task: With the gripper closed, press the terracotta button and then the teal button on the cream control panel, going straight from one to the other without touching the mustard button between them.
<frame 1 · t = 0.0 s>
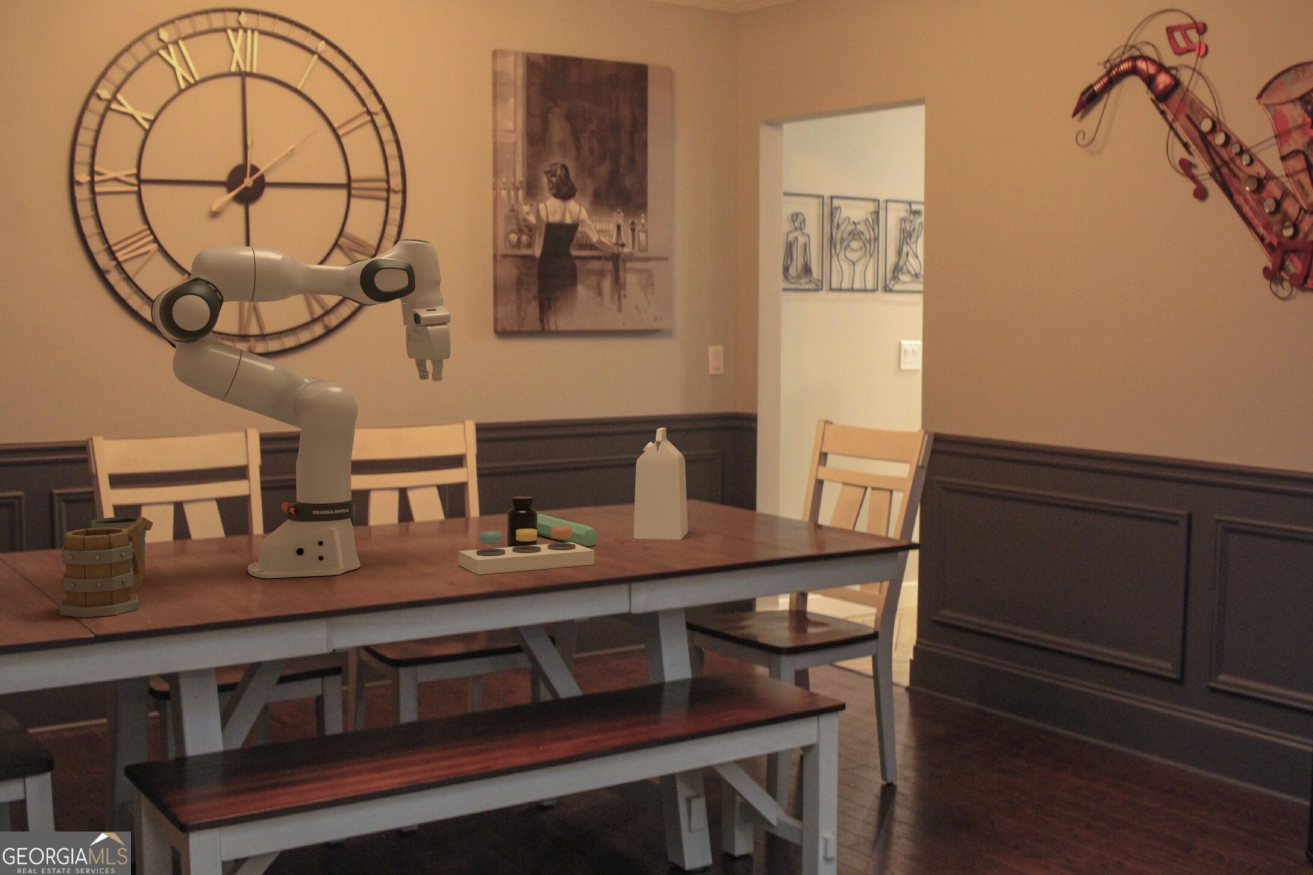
hand: (430, 380, 274), 39 cm above the table, tool pointing down, fingers open, 8 cm apart
button panel: (526, 564, 271), on the table
tankard: (115, 606, 230), on the table
mustard button: (526, 534, 271), point 6 cm above the table, slide at 0.0 cm
milk: (661, 535, 312), on the table
drinking glass: (121, 580, 254), on the table
terracotta button: (561, 532, 274), point 6 cm above the table, slide at 0.0 cm
supplement bottle: (522, 550, 290), on the table
container: (561, 541, 304), on the table
teal button: (490, 537, 267), point 6 cm above the table, slide at 0.0 cm
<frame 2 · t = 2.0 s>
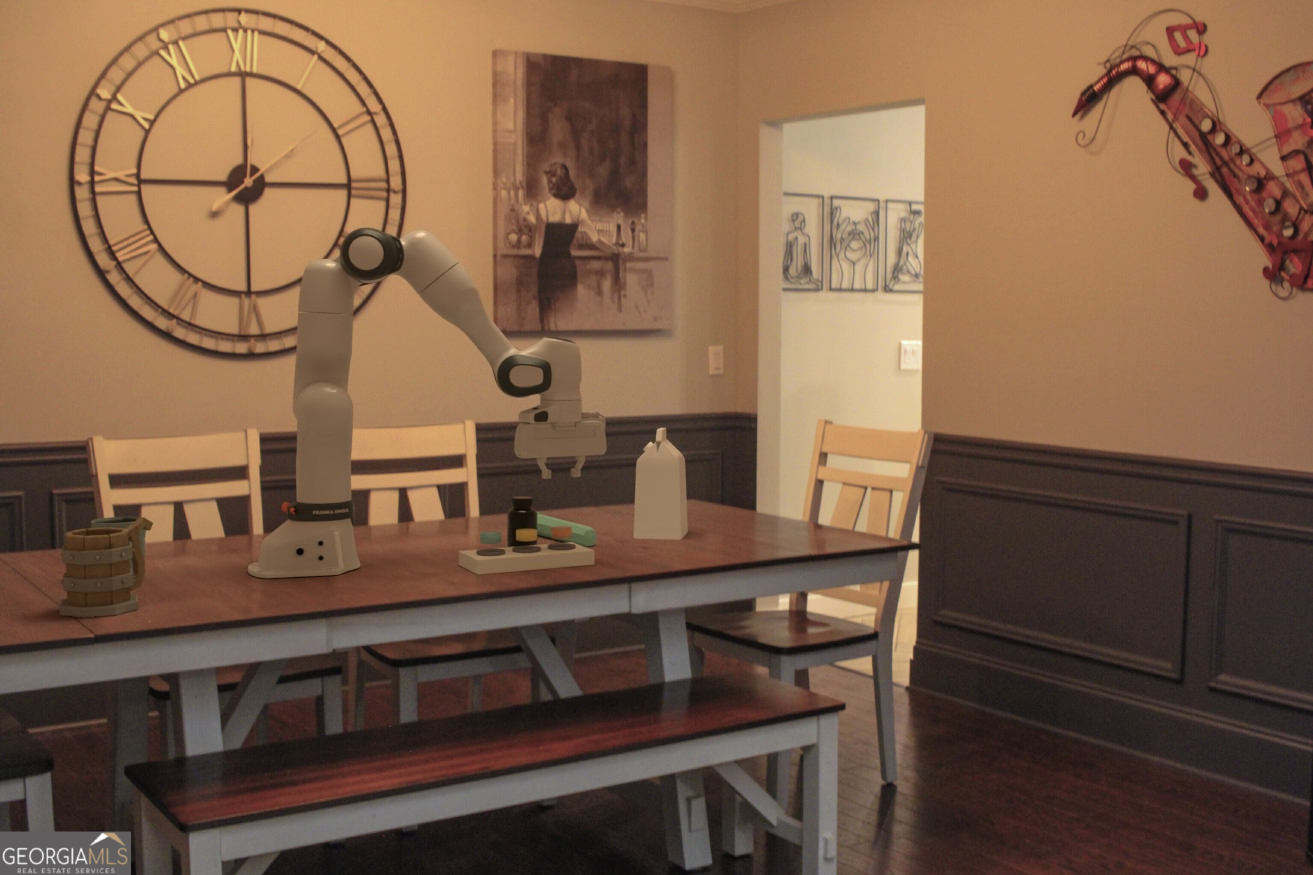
hand: (561, 477, 273), 18 cm above the table, tool pointing down, fingers open, 5 cm apart
nothing on the table moved.
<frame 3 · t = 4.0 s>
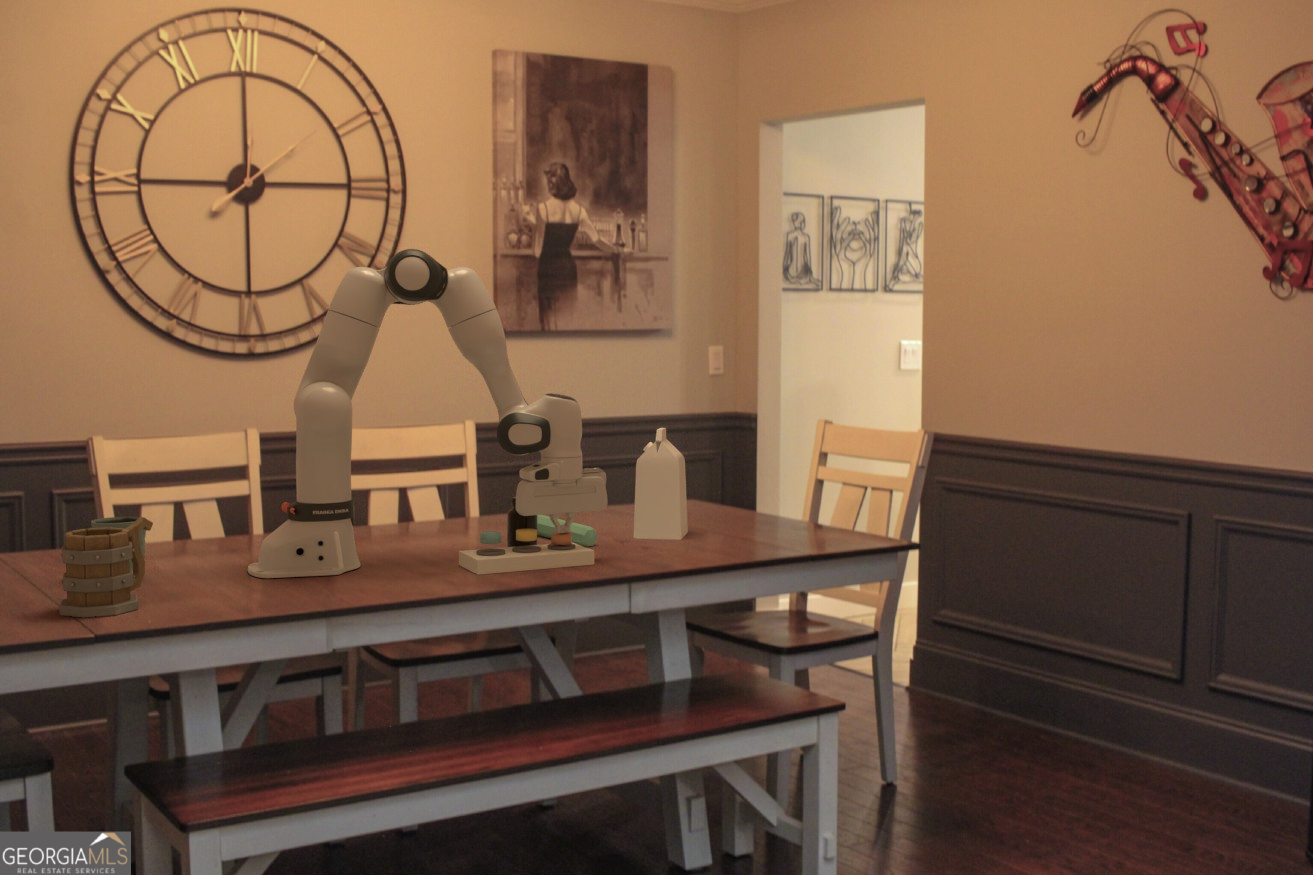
hand: (562, 533, 274), 6 cm above the table, tool pointing down, fingers closed, pressing on terracotta button
terracotta button: (561, 538, 274), point 5 cm above the table, slide at 1.4 cm, touching gripper
everything else where it was.
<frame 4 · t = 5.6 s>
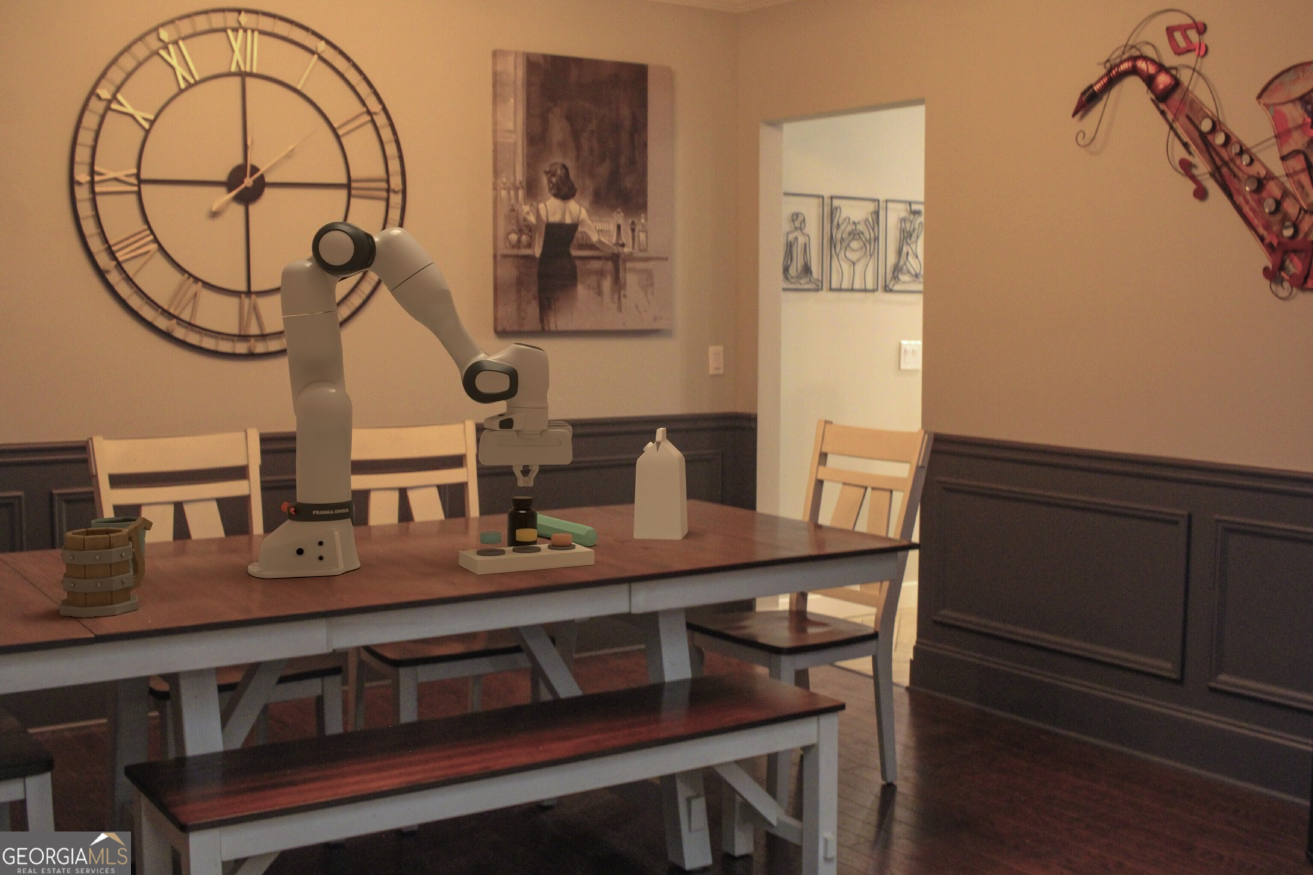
hand: (525, 486, 270), 17 cm above the table, tool pointing down, fingers closed
terracotta button: (561, 539, 274), point 5 cm above the table, slide at 1.6 cm
everything else where it was.
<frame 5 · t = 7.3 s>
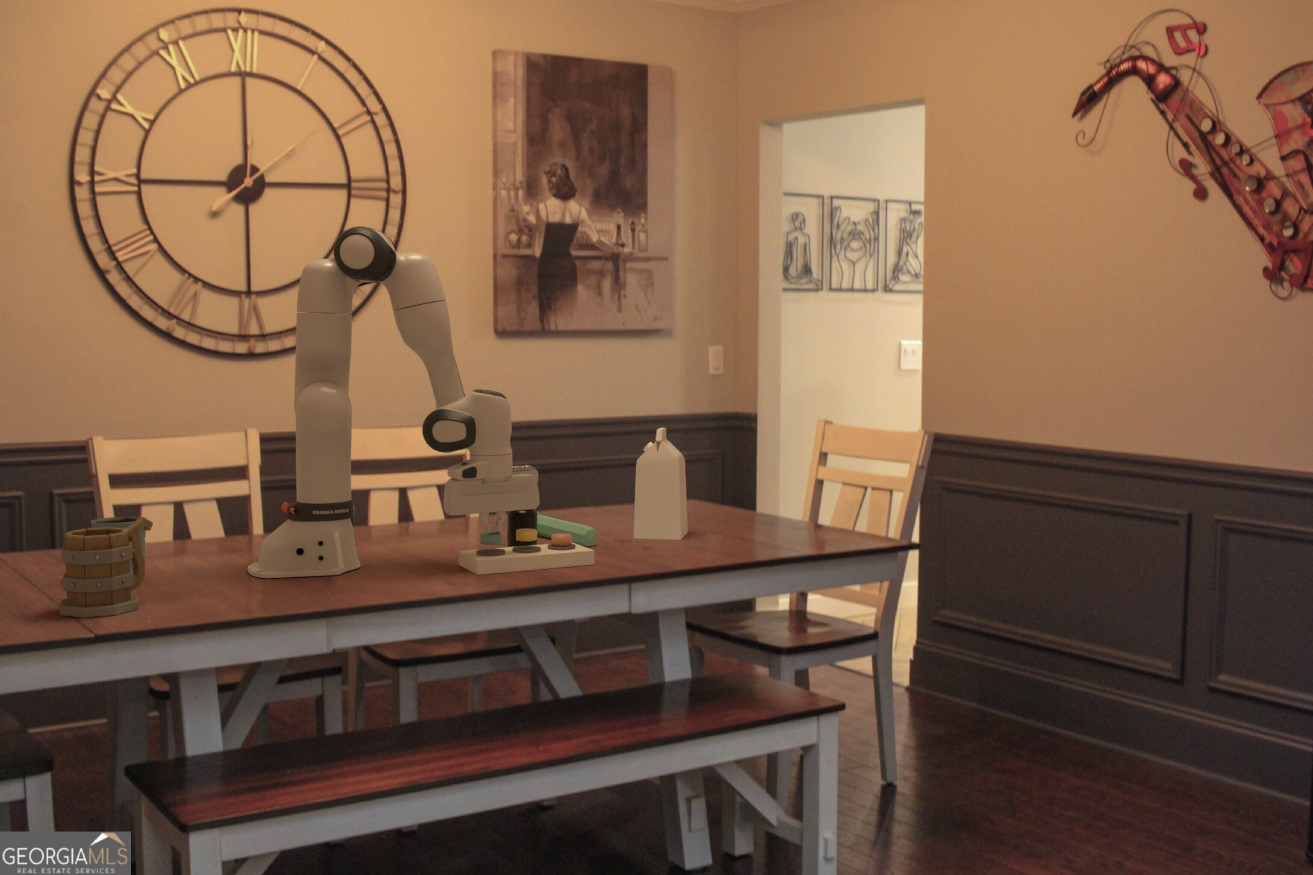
hand: (493, 533, 267), 7 cm above the table, tool pointing down, fingers closed, pressing on teal button
teal button: (490, 538, 267), point 6 cm above the table, slide at 0.2 cm, touching gripper
everything else where it was.
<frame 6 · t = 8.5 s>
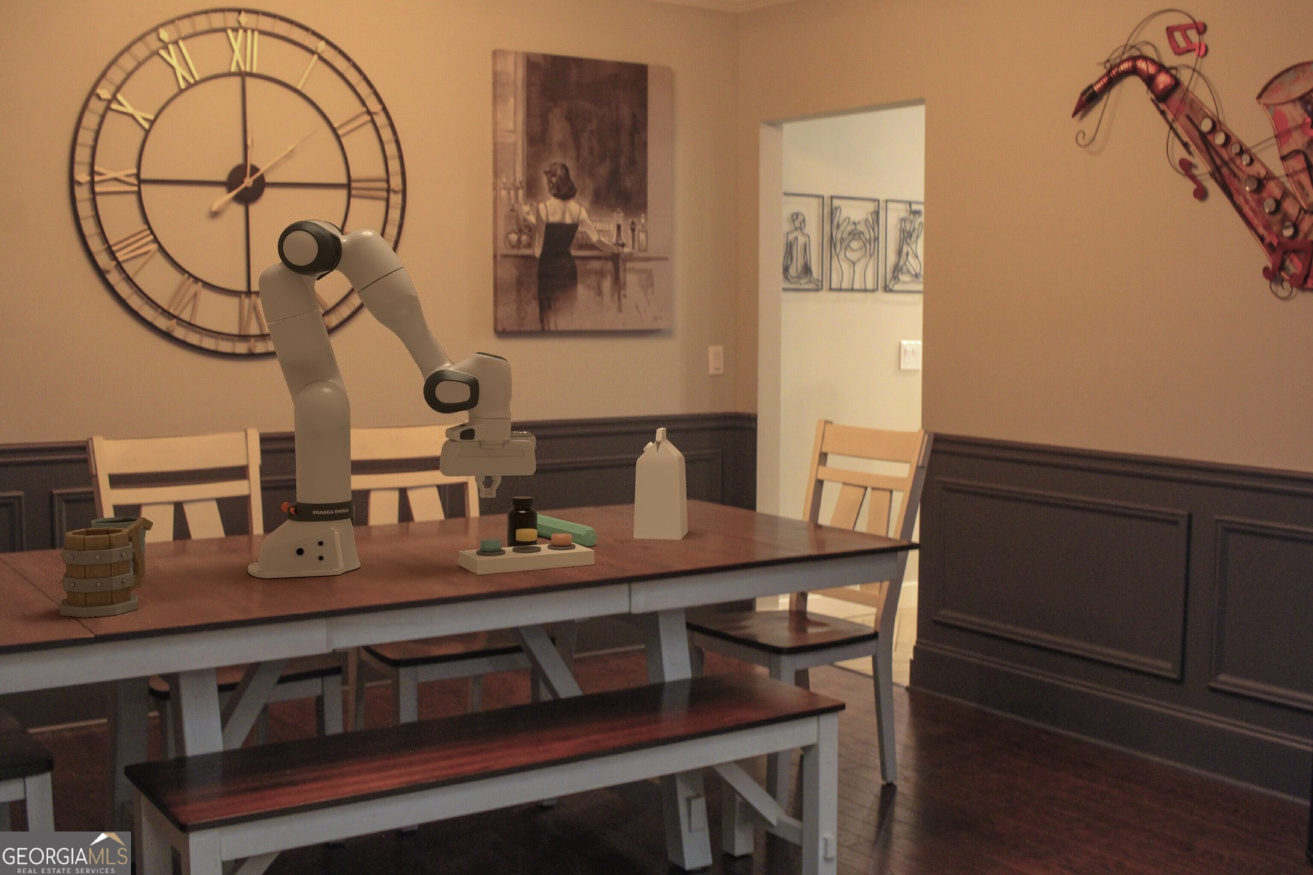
hand: (487, 497, 266), 15 cm above the table, tool pointing down, fingers closed
teal button: (490, 545, 267), point 5 cm above the table, slide at 1.6 cm
everything else where it was.
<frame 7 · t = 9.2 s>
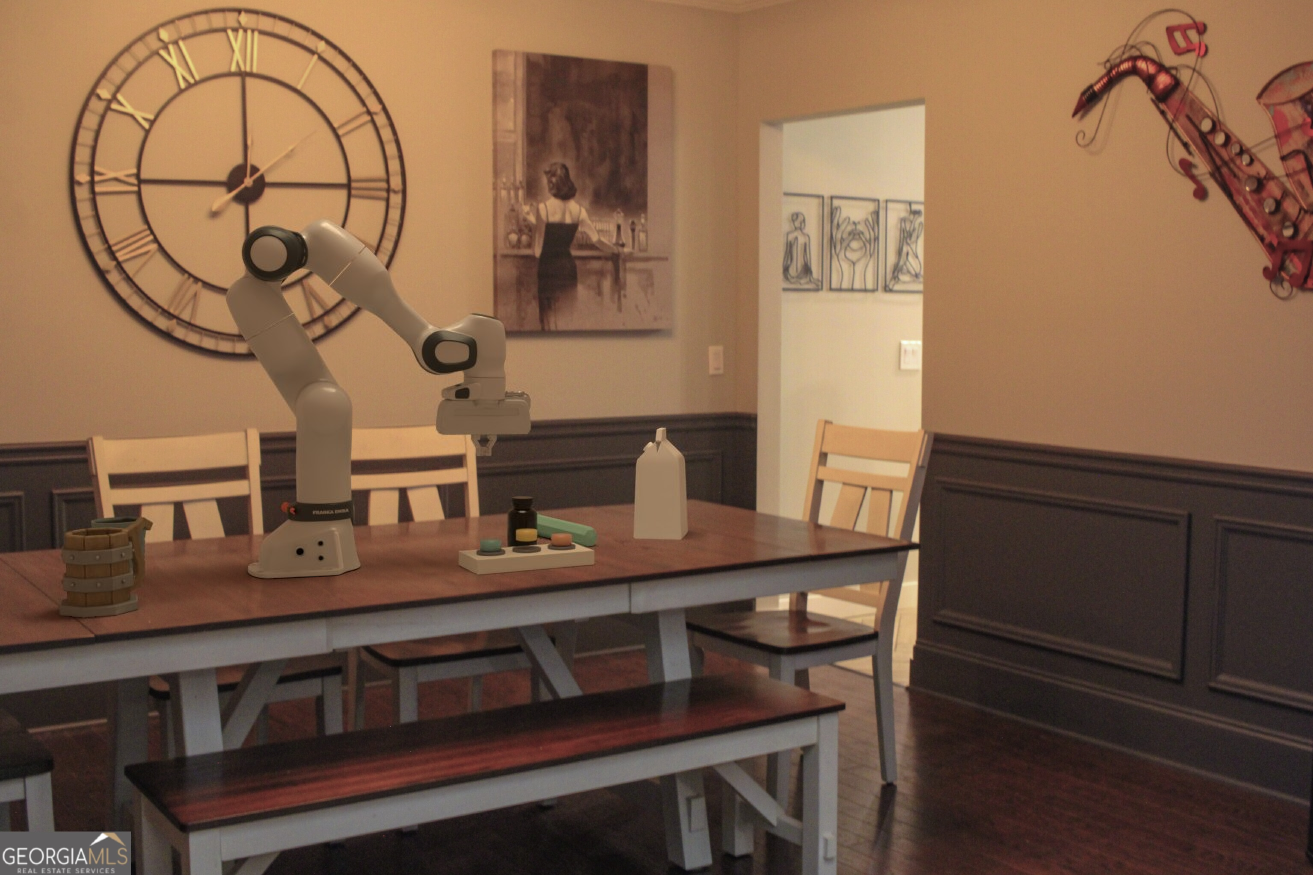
hand: (483, 455, 272), 23 cm above the table, tool pointing down, fingers closed
nothing on the table moved.
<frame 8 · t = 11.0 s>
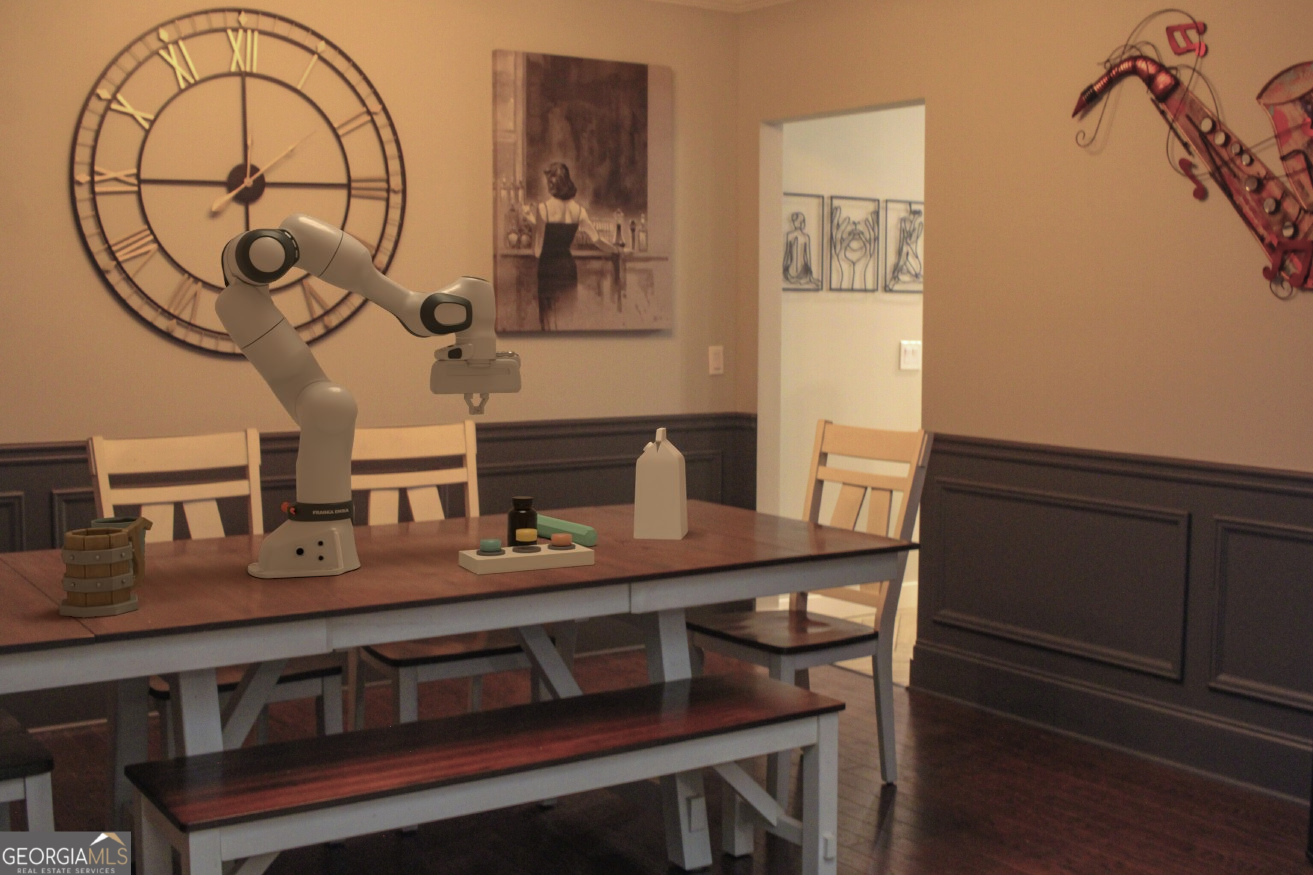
hand: (476, 414, 281), 31 cm above the table, tool pointing down, fingers closed
nothing on the table moved.
at the end: terracotta button slide at 1.6 cm; teal button slide at 1.6 cm; mustard button slide at 0.0 cm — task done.
